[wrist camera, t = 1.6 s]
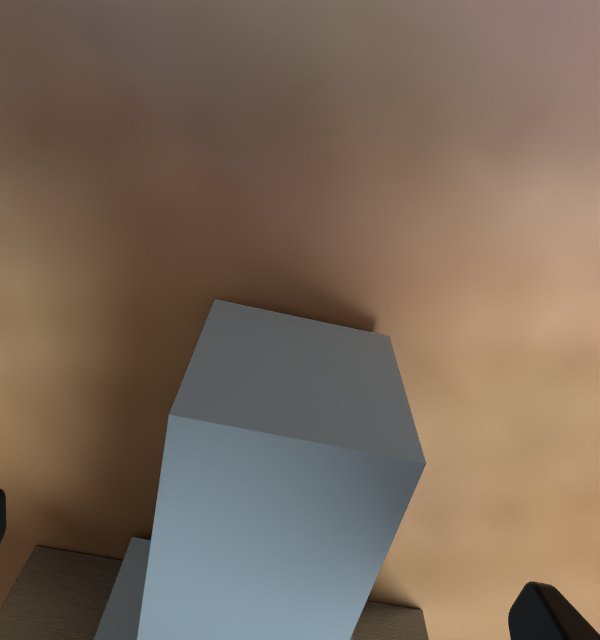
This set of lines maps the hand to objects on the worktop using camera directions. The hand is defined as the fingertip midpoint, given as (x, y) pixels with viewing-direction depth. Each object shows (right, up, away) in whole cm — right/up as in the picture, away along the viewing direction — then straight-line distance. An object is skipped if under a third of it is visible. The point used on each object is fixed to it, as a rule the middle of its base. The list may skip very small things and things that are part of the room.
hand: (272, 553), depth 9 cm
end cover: (-1, -3, +6) cm, 7 cm away
